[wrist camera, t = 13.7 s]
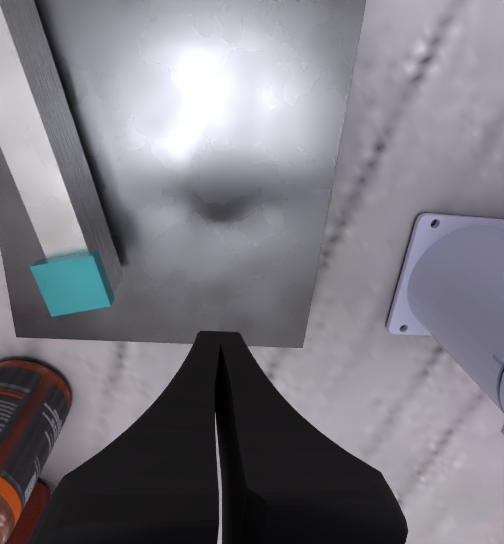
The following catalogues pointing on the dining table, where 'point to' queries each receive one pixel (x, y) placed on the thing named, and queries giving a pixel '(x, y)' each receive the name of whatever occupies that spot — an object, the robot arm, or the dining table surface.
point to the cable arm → (52, 170)
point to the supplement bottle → (26, 432)
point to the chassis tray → (196, 162)
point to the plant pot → (30, 515)
